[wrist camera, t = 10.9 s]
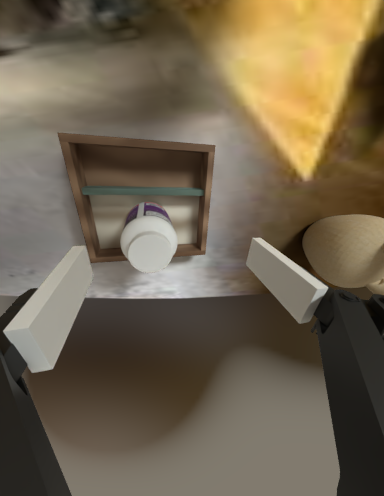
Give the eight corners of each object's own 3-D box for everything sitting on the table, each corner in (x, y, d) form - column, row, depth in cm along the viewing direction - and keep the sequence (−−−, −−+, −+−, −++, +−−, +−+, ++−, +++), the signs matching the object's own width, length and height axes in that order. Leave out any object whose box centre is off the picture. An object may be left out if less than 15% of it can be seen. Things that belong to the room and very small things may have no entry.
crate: (70, 136, 26) (57, 132, 22) (206, 147, 31) (215, 145, 27) (97, 251, 35) (90, 263, 31) (199, 245, 40) (205, 254, 36)
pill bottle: (137, 244, 35) (132, 289, 23) (120, 207, 32) (102, 238, 19) (174, 232, 36) (188, 269, 24) (161, 194, 32) (171, 216, 20)
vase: (289, 214, 42) (517, 301, 16) (346, 197, 44) (635, 250, 18) (285, 267, 50) (432, 381, 24) (333, 251, 52) (519, 341, 26)
